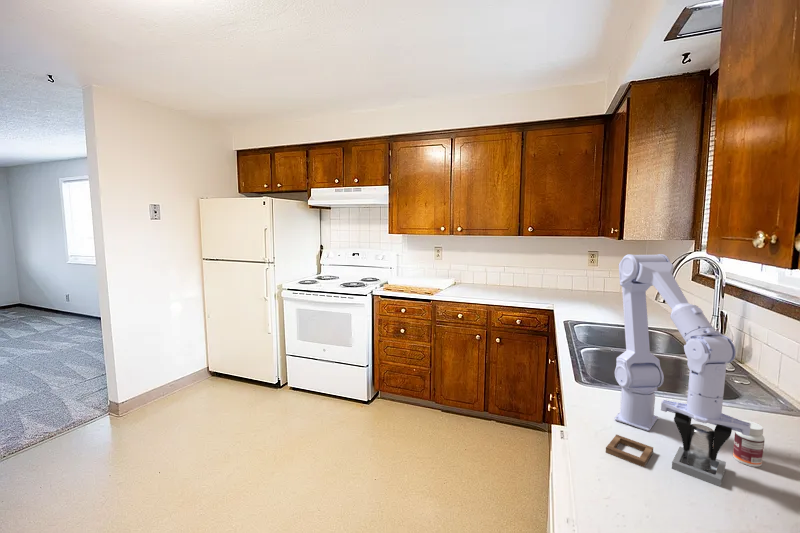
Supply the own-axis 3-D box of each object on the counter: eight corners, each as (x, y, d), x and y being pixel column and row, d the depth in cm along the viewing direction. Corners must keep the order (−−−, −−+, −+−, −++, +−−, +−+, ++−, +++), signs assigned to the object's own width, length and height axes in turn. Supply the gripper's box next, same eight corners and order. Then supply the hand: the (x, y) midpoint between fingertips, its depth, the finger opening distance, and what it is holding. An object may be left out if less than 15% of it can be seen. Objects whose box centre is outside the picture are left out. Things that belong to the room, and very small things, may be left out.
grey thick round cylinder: (689, 456, 84) (692, 421, 83) (712, 464, 81) (715, 429, 80) (685, 464, 81) (688, 428, 80) (709, 473, 78) (712, 436, 77)
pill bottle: (732, 451, 87) (735, 416, 86) (760, 459, 84) (764, 423, 83) (732, 461, 83) (736, 425, 82) (762, 470, 80) (766, 432, 79)
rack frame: (679, 452, 87) (679, 446, 86) (725, 468, 81) (725, 461, 81) (671, 468, 81) (672, 461, 81) (720, 486, 75) (721, 479, 75)
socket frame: (616, 439, 92) (616, 434, 92) (653, 452, 87) (653, 447, 86) (605, 452, 87) (605, 447, 87) (644, 467, 81) (644, 462, 81)
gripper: (659, 387, 81) (654, 446, 83) (751, 410, 71) (744, 478, 73) (666, 377, 86) (662, 434, 88) (753, 398, 76) (747, 462, 78)
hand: (699, 453), depth 81 cm, fingers closed on grey thick round cylinder, 4 cm apart
